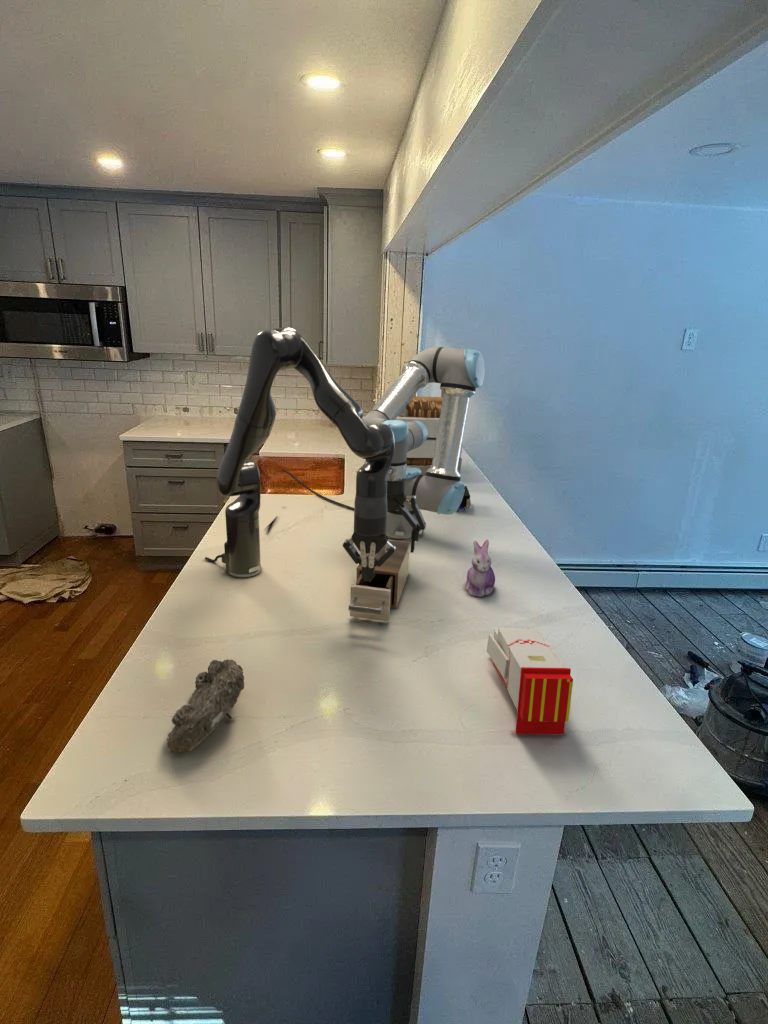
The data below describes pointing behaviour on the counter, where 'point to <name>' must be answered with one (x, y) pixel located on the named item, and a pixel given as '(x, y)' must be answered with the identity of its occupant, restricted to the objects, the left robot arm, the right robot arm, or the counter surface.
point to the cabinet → (394, 567)
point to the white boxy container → (429, 415)
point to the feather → (270, 524)
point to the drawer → (372, 597)
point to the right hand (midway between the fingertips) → (389, 548)
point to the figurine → (480, 572)
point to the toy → (532, 679)
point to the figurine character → (465, 500)
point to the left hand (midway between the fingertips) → (368, 579)
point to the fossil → (206, 705)
